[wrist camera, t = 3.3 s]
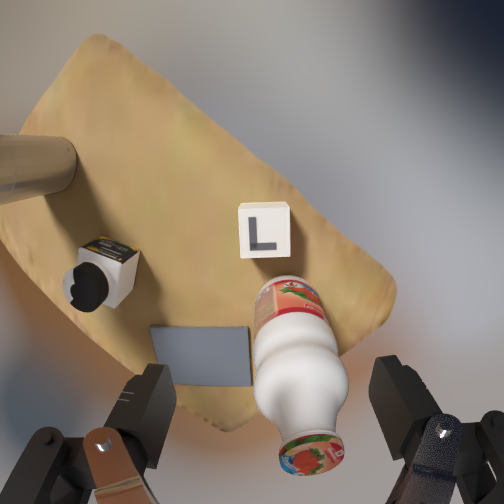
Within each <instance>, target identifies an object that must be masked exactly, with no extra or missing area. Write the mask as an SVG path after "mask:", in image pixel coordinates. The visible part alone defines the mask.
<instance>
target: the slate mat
mask: <svg viewBox="0 0 504 504" xmlns="http://www.w3.org/2000/svg"><path fill="white" fill-rule="evenodd" d="M150 332H151V336H152V341H153V345H154V349H155V353H156V357H157V361H158V364H166V365H168V366H169V368H170V372H171V376H172V380H173V384H184V385H204V386H251V372H250V356H249V339H248V327H177V326H151V327H150Z"/></svg>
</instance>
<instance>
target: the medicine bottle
mask: <svg viewBox="0 0 504 504" xmlns="http://www.w3.org/2000/svg"><path fill="white" fill-rule="evenodd" d="M139 254H140V250H139V249H137V248H134V247H131V246H128V245H125V244H123V243H120V242H117V241H114V240H112V239H109V238H106V237H104V236H101V237H99V238H97V239H95V240H94V241H92V242H90V243H88V244H86V245H84V246H82V247H80V248H79V251H78V260H77V265H76V266H75V267H73V268H72V269H70V270H69V271H67V272H66V274H65V276H64V279H63V290H64V294H65V296H66V298H67V300H68V301H69V303H70V304H71V305H72V306H73V307H74V308H76V309H78V310H80V311H82V312H92V311H94V310H96V309H97V308H98V307H99V306H100V305H101V304H104V305H106V306H109V307H111V308H116V307H117V306H118V305H119V304H120V303H121V302H122V301H123V299H124V298H125V297H126V296H127V295H128V294H129V293H130V292H131V291H132V290H133V286H134V280H135V275H136V269H137V264H138V259H139Z"/></svg>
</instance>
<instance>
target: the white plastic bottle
mask: <svg viewBox="0 0 504 504" xmlns="http://www.w3.org/2000/svg"><path fill="white" fill-rule="evenodd" d="M253 356H254V365H255V369H256V372H257V373H256V376H255V379H254V398H255V402H256V404H257V406H258V408H259V410H260V411H261V413H262V414H263V415H264V416H265V417H266V418H267V419H269V420H270V421H271V422H273V423H275V424H276V426H277V428H278V430H279V432H280V434H281V437H282V441H283V443H282V444H281V446H280V449H279V460H280V464H281V467H282V468H283V469H284V470H285V471H286V472H288V473H290V474H293V475H299V476H300V475H301V476H309V475H316V474H320V473H323V472H326V471H329V470H331V469H332V468H334V467H336V466H337V465H338V464H339V463H340V462H341V461H342V459H343V457H344V446H343V442H342V440H341V437H340V436H339V435H338V434H337V433H336V430H335V427H336V418H337V414H338V412H339V410H340V409H341V407H342V406H343V404H344V402H345V400H346V398H347V394H348V389H349V380H348V375H347V372H346V368H345V366H344V364H343V363H342V361H341V360H340V359H339V357H338V348H337V343H336V340H335V336H334V334H333V331H332V329H331V327H330V325H329V322H328V320H327V317H326V315H325V312H324V310H323V308H322V305H321V303H320V300H319V298H318V296H317V293H316V291H315V290H314V288H313V287H312V286H311V285H310V284H309V283H308V282H307V281H306V280H304V279H302V278H300V277H297V276H293V275H283V276H278V277H275V278H273V279H271V280H270V281H268V282H267V283H266V284H265V285H264V286H263V287H262V288H261V289H260V291H259V293H258V295H257V298H256V302H255V321H254V346H253Z"/></svg>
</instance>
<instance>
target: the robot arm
mask: <svg viewBox="0 0 504 504" xmlns="http://www.w3.org/2000/svg"><path fill="white" fill-rule="evenodd" d="M76 166H77V158H76V153H75V149H74V147H73V145H72V144H71V143H70V142H69V140H67V139H65V138H62V137H52V136H36V135H0V205H3V204H7V203H11V202H15V201H19V200H24V199H28V198H32V197H37V196H41V195H46V194H51V193H56V192H60V191H62V190H64V189H65V188H67V187H68V185H69V184H70V183H71V181H72V179H73V178H74V175H75V171H76ZM369 398H370V402H371V404H372V406H373V409H374V412H375V414H376V417H377V419H378V422H379V424H380V427H381V429H382V432H383V434H384V437H385V440H386V442H387V445H388V447H389V450H390V453H391V455H392V458H393V460H398V459H401V458H404V460H405V465H404V467H403V468H402V471H401V473H400V475H399V477H398V479H397V482H396V484H395V486H394V488H393V490H392V492H391V494H390V496H389V498H388V500H387V502H386V503H385V504H449V503H450V501H451V497H452V494H453V491H454V487H455V484H456V483H457V486H458V488H459V491H460V494H461V497H462V500H463V502H464V504H504V413H503V412H501V411H495V410H494V411H489V412H487V413H486V414H485V415H484V416H483V418H482V420H481V421H480V422H474V423H461V422H460V421H459V419H457V418H456V417H455V416H453V415H450V414H443V413H442V411H441V409H440V408H439V406H438V405H437V403H436V401H435V400H434V398H433V396H432V395H431V394H430V392H429V390H428V389H426V385H425V384H424V382H422V379H421V378H420V376H419V375H418V373H417V372H416V371H415V370H413V369H412V368H411V367H409V366H408V365H404V366H402V364H401V362H400V361H399V359H398V358H397V356H396V355H390V356H383V357H377V358H376V359H375V363H374V367H373V372H372V376H371V380H370V384H369ZM175 407H176V392H175V388H174V384H173V380H172V376H171V372H170V368H169V366H168V365H166V364H152V363H149V364H148V365H147V367H146V368H145V370H144V372H143V374H142V375H135V376H134V377H133V378H132V379H130V380H129V381H128V382H127V384H126V386H125V387H124V389H123V393H121V395H120V396H119V400H117V402H116V404H115V406H114V408H113V409H112V411H111V413H110V415H109V417H108V419H107V421H106V423H105V425H104V426H103V427H98V428H95V429H93V430H91V431H90V432H88V433H87V434H86V436H85V437H82V438H69V437H68V438H67V437H66V438H65V437H64V436H63V435H62V433H61V432H60V431H59V430H58V429H56V428H54V427H44V428H41V429H39V430H37V431H36V432H35V433H34V434H33V436H32V438H31V439H30V441H29V443H28V444H27V446H26V448H25V449H24V451H23V453H22V455H21V456H20V458H19V460H18V462H17V463H16V466H15V467H14V469H13V471H12V472H11V474H10V476H9V478H8V480H7V482H6V484H5V486H4V488H3V490H2V492H1V494H0V504H87V503H88V500H89V497H90V495H91V492H92V489H97V491H95V492H94V493H95V498H96V501H97V503H98V504H160V503H159V502H158V500H157V498H156V497H155V495H154V493H153V491H152V490H151V488H150V486H149V484H148V482H147V481H146V479H145V477H144V472H145V469H146V468H152V469H156V468H157V464H158V461H159V458H160V454H161V451H162V448H163V445H164V441H165V439H166V435H167V432H168V429H169V426H170V423H171V420H172V416H173V413H174V410H175ZM488 461H489V463H490V465H491V467H492V469H493V471H494V473H495V475H496V479H497V482H496V480H495V478H494V476H493V474H492V471H491V469H490V467H489V465H488V463H487V462H488Z"/></svg>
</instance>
